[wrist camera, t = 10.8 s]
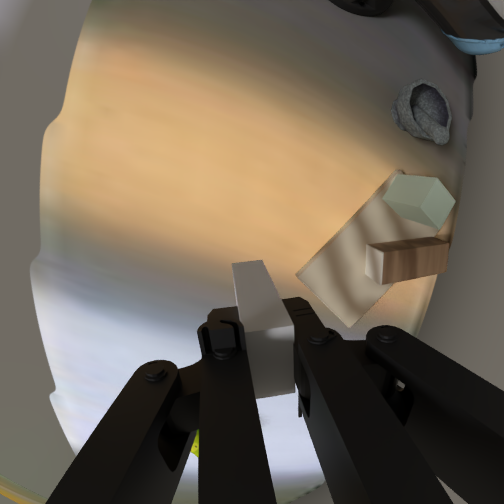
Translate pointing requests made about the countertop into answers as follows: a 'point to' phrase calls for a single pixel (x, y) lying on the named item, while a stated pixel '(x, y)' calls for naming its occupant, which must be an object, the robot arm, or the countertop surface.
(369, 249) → the walnut block
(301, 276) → the maple board
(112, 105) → the countertop surface
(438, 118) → the mortar and pestle
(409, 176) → the sage-green block
